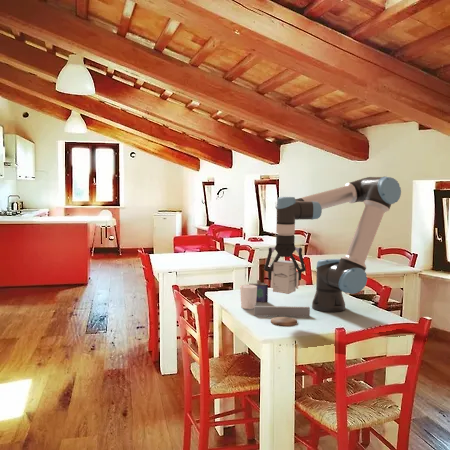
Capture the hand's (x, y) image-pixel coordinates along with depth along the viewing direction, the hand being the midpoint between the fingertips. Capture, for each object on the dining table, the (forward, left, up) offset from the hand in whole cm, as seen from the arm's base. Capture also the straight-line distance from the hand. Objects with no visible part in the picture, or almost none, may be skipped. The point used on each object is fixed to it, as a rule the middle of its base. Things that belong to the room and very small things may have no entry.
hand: (284, 287), depth 207 cm
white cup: (+22, -18, -15) cm, 32 cm away
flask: (+21, -30, -15) cm, 40 cm away
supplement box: (0, 0, -2) cm, 2 cm away
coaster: (0, 0, -15) cm, 15 cm away
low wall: (+3, -10, -15) cm, 18 cm away
